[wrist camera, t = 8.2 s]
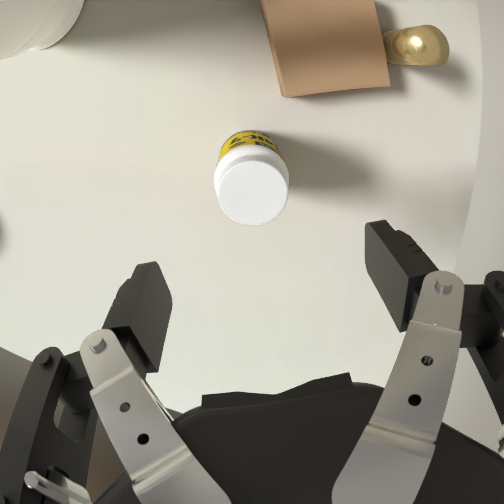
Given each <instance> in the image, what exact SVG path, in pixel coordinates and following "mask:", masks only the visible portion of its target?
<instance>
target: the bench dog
mask: <svg viewBox="0 0 504 504" xmlns="http://www.w3.org/2000/svg"><path fill="white" fill-rule="evenodd" d="M382 39H383V44H384V49H385V55H386V60H387V62H389V63H391V64H403V65H427V66H440V65H442V64H444V63H445V62H446V61H447V59H448V56H449V44H448V41H447V39H446V37H445V36H444V34H443V33H442V32H441V31H440V30H439V29H438V28H436V27H434V26H432V25H422V26H415V27H409V28H403V29H398V30H393V31H388V32H384V33H383V34H382Z"/></svg>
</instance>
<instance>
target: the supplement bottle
mask: <svg viewBox="0 0 504 504" xmlns="http://www.w3.org/2000/svg"><path fill="white" fill-rule="evenodd" d="M214 186H215V190H216V193H217V195H218V200H219V203H220V206H221V208H222V210H223V211H224V213H225V214H226V215H227V216H228V217H229V218H231V219H232V220H234V221H235V222H238V223H240V224H243V225H250V226H255V225H261V224H265V223H268V222H270V221H271V220H273V219H275V218H276V217H277V216H278V215H279V214H280V213H281V212H282V210H283V209H284V207H285V205H286V202H287V199H288V187H289V173H288V169H287V166H286V164H285V162H284V160H283V158H282V156H281V154H280V152H279V150H278V148H277V146H276V144H275V143H274V142H273V140H272V139H271V138H270V137H268V136H267V135H265V134H264V133H261V132H259V131H254V130H246V131H241V132H238V133H235V134H234V135H232V136H231V137H229V138H228V139H227V140H226V142H225V143H224V144H223V146H222V148H221V151H220V154H219V158H218V162H217V165H216V169H215V173H214Z"/></svg>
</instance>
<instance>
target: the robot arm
mask: <svg viewBox="0 0 504 504" xmlns="http://www.w3.org/2000/svg"><path fill="white" fill-rule="evenodd" d="M365 264H366V268H367V272H368V274H369V276H370V277H371V279H372V281H373V283H374V285H375V287H376V288H377V290H378V292H379V294H380V296H381V298H382V299H383V301H384V303H385V305H386V307H387V309H388V311H389V313H390V315H391V317H392V319H393V320H394V322H395V324H396V326H397V328H398V330H399V332H404V331H406V334H405V337H404V340H403V343H402V346H401V348H400V351H399V354H398V356H397V359H396V362H395V364H394V367H393V369H392V372H391V374H390V377H389V379H388V382H387V384H386V386H385V388H383V387H380V386H377V385H373V384H368V383H360V382H352V380H351V377H350V373H349V372H348V373H343V374H339V375H334V376H330V377H325V378H320V379H315V380H312V381H309V382H307V383H304V384H302V385H300V386H297V387H295V388H292V389H290V390H287V391H284V392H282V393H279V394H274V395H272V394H258V393H247V392H229V393H219V394H208V395H202V405H201V406H199V407H196V408H194V409H191V410H189V411H187V412H185V413H184V414H182V415H180V416H179V417H178V418H176V419H175V420H174V419H173V418H172V417H171V416H170V414H169V413H168V411H167V410H166V409H165V407H164V406H163V404H162V403H161V402H160V400H159V399H158V397H157V396H156V394H155V393H154V391H153V390H152V388H151V387H150V385H149V384H148V383H147V381H146V380H145V378H146V374H147V373H154V372H158V371H159V366H160V361H161V356H162V351H163V346H164V342H165V337H166V332H167V328H168V323H169V319H170V315H171V310H172V297H171V293H170V291H169V288H168V286H167V284H166V281H165V279H164V277H163V274H162V272H161V269H160V267H159V265H158V263H157V262H155V261H154V262H148V263H143V264H138V265H137V266H136V268H135V270H134V272H133V274H132V277H131V279H127V280H126V281H125V283H124V284H123V285H122V286H121V287H120V288H119V290H118V292H117V295H116V299H114V301H113V304H112V305H113V306H111V308H110V310H109V313H108V315H107V317H106V320H105V322H104V324H103V327H102V329H101V330H97V331H95V332H93V333H91V334H90V335H89V336H87V337H86V338H85V340H84V341H83V342H82V344H81V347H80V351H77V352H75V353H72V354H69V355H66V356H64V355H63V353H62V352H61V351H60V350H59V349H58V348H57V347H49V348H46V349H44V350H43V351H41V352H40V353H39V354H38V355H37V356H36V357H35V359H34V361H33V363H32V365H31V368H30V370H29V372H28V375H27V377H26V379H25V382H24V384H23V387H22V389H21V392H20V395H19V397H18V400H17V402H16V405H15V408H14V411H13V414H12V416H11V419H10V422H9V425H8V428H7V431H6V435H5V438H4V441H3V444H2V448H1V451H0V504H92V503H91V502H90V497H89V495H88V493H87V491H86V482H87V475H88V468H89V462H90V456H91V450H92V445H93V439H94V434H95V429H96V424H97V419H98V414H99V416H100V419H101V421H102V423H103V425H104V427H105V429H106V431H107V433H108V436H109V438H110V440H111V442H112V444H113V446H114V448H115V449H116V451H117V454H118V455H119V457H120V459H121V461H122V463H123V465H124V467H125V468H126V471H125V472H124V473H123V474H122V475H121V476H120V477H119V478H118V479H117V480H116V481H115V482H114V483H113V484H112V485H111V486H110V487H109V488H108V489H107V490H106V491H105V492H104V493H103V494H102V495H101V496H100V497H99V498H98V499H97V500H96V501H95V502H94V503H93V504H504V337H503V335H502V334H503V332H504V272H503V271H492V272H490V273H488V274H487V275H486V277H485V281H484V284H482V285H465V284H464V283H463V281H462V280H461V279H460V278H459V277H458V276H456V275H455V274H453V273H451V272H447V271H439V269H438V268H437V267H436V266H435V264H434V263H433V262H432V261H431V260H430V258H429V257H428V256H427V255H426V254H425V252H424V251H422V249H421V248H420V247H419V245H417V243H416V242H415V241H414V240H413V239H412V237H411V236H409V235H408V234H406V233H404V232H402V231H400V230H397V231H395V230H394V229H393V228H392V227H391V226H390V224H389V223H388V222H387V221H386V220H380V221H374V222H369V223H366V225H365ZM459 348H467V349H468V351H469V353H470V355H471V357H472V359H473V361H474V363H475V365H476V367H477V369H478V371H479V373H480V375H481V378H482V379H483V382H484V384H485V386H486V388H487V390H488V393H489V395H490V397H491V399H492V402H493V404H494V406H495V409H496V411H497V413H498V416H499V419H500V421H501V423H502V428H501V429H500V432H499V437H498V440H499V441H498V442H499V446H498V453H499V454H500V455H499V454H498V453H496V452H495V451H493V450H491V449H489V448H488V447H486V446H484V445H482V444H480V443H478V442H477V441H475V440H473V439H471V438H470V437H468V436H466V435H464V434H462V433H461V432H459V431H457V430H455V429H454V428H452V427H450V426H448V425H446V424H445V423H443V422H442V419H443V415H444V412H445V408H446V405H447V401H448V398H449V394H450V390H451V386H452V381H453V377H454V372H455V368H456V363H457V358H458V352H459ZM58 400H59V401H60V402H61V403H62V404H63V405H64V409H63V412H62V416H61V419H60V423H59V427H58V429H57V427H56V426H55V424H54V412H55V409H56V406H57V402H58Z"/></svg>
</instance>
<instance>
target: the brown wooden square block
mask: <svg viewBox="0 0 504 504" xmlns="http://www.w3.org/2000/svg"><path fill="white" fill-rule="evenodd" d="M260 6H261V10H262V14H263V18H264V22H265V25H266V29H267V33H268V38H269V42H270V46H271V50H272V54H273V58H274V63H275V67H276V72H277V76H278V80H279V85H280V90H281V94H282V96H283V97H286V98H289V97H295V96H302V95H308V94H315V93H323V92H330V91H339V90H348V89H358V88H370V87H385V86H390V79H389V73H388V66H387V60H386V55H385V49H384V44H383V39H382V34H381V29H380V25H379V20H378V16H377V12H376V8H375V4H374V0H260Z"/></svg>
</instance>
